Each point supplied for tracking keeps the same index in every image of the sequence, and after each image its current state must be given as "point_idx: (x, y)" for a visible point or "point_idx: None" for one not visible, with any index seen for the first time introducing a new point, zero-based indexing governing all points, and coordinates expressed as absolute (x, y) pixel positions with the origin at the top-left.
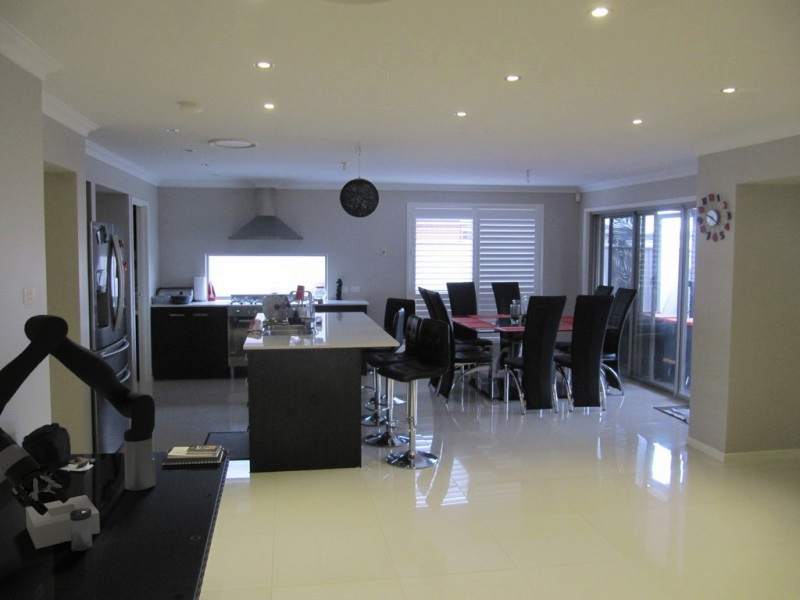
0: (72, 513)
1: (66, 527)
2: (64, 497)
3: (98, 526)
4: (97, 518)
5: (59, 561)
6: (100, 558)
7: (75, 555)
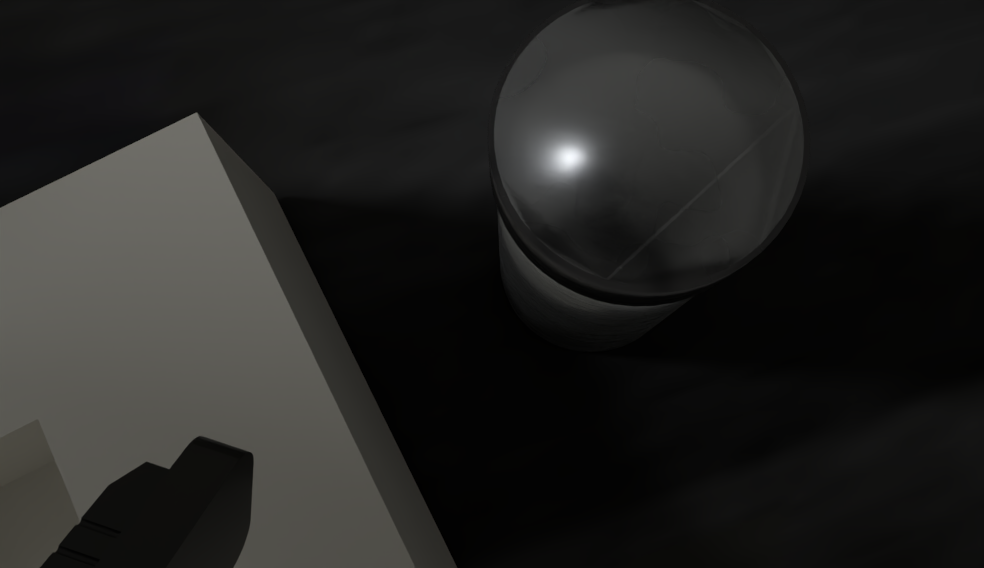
0: (705, 242)
1: (383, 464)
2: (209, 529)
3: (256, 181)
4: (232, 155)
5: (843, 383)
6: (832, 41)
7: (736, 276)
